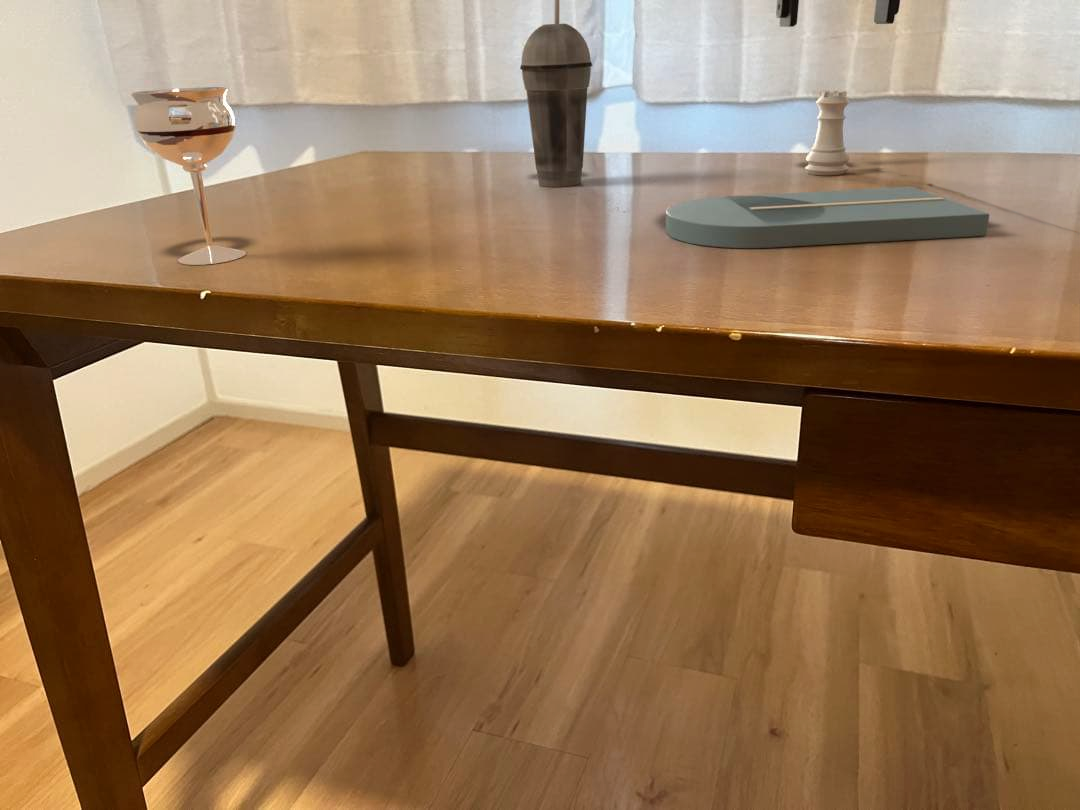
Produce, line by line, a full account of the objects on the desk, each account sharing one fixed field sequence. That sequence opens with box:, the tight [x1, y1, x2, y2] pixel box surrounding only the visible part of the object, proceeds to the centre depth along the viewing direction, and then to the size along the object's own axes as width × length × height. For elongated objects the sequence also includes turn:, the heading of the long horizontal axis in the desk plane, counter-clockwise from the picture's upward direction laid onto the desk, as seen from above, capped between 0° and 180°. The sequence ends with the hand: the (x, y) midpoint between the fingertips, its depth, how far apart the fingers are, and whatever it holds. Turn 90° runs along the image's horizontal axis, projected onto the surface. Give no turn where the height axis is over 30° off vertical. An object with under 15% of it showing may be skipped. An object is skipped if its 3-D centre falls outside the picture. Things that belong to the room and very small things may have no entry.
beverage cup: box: [519, 0, 593, 188], centre depth 87 cm, size 7×7×20 cm
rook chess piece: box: [804, 90, 850, 176], centre depth 88 cm, size 4×4×8 cm
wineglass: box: [128, 86, 247, 266], centre depth 63 cm, size 7×7×12 cm
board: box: [665, 186, 990, 249], centre depth 66 cm, size 22×12×2 cm, turn 94°
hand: (835, 25), depth 85 cm, fingers open, 9 cm apart
